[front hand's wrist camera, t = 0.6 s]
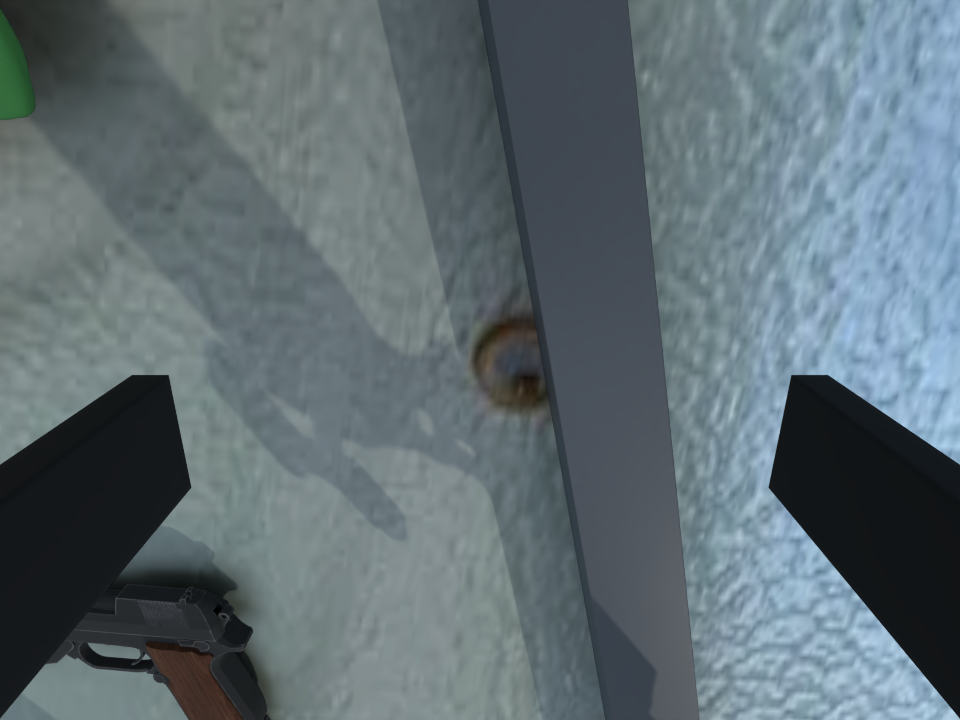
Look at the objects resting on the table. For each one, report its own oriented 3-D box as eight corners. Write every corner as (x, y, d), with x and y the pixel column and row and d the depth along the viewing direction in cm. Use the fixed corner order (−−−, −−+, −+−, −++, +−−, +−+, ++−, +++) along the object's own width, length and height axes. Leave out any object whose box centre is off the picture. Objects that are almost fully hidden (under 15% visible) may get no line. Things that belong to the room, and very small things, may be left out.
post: (460, -98, 25) (452, -201, 18) (566, -124, 25) (603, -240, 18) (625, 830, 47) (653, 963, 39) (683, 822, 47) (723, 955, 39)
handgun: (264, 782, 40) (234, 619, 34) (-23, 754, 41) (-102, 592, 35) (284, 731, 43) (259, 574, 37) (17, 707, 44) (-49, 551, 38)
